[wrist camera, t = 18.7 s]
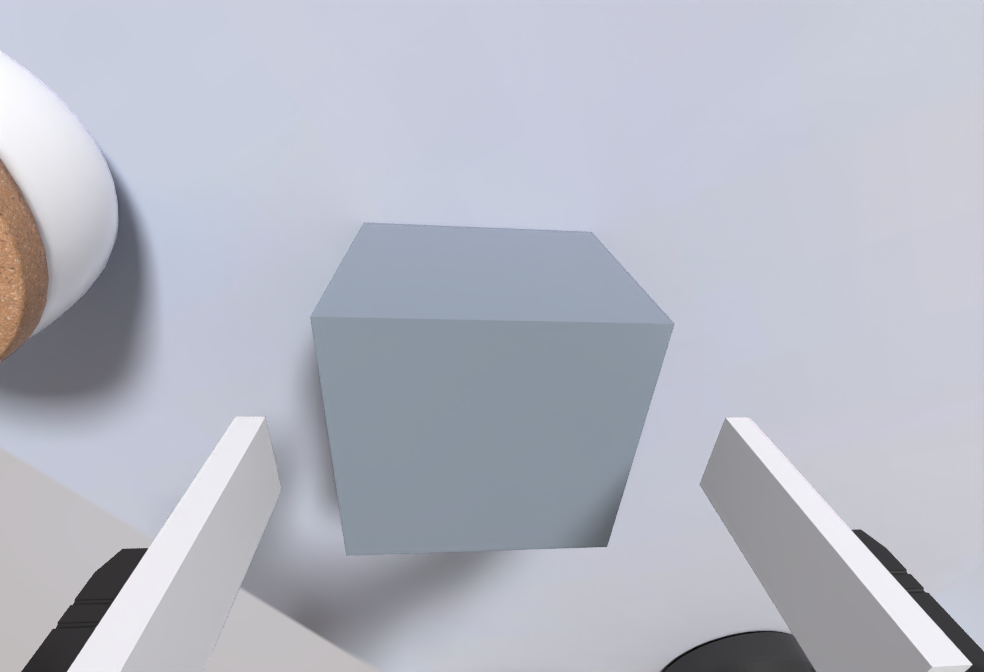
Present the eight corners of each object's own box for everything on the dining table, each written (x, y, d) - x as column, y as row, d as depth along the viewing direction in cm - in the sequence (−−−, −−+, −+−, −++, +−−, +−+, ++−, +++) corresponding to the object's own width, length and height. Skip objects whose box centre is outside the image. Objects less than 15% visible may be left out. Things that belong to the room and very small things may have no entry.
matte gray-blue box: (560, 407, 26) (607, 546, 18) (377, 407, 25) (346, 555, 17) (591, 232, 21) (674, 323, 13) (363, 223, 20) (310, 316, 12)
